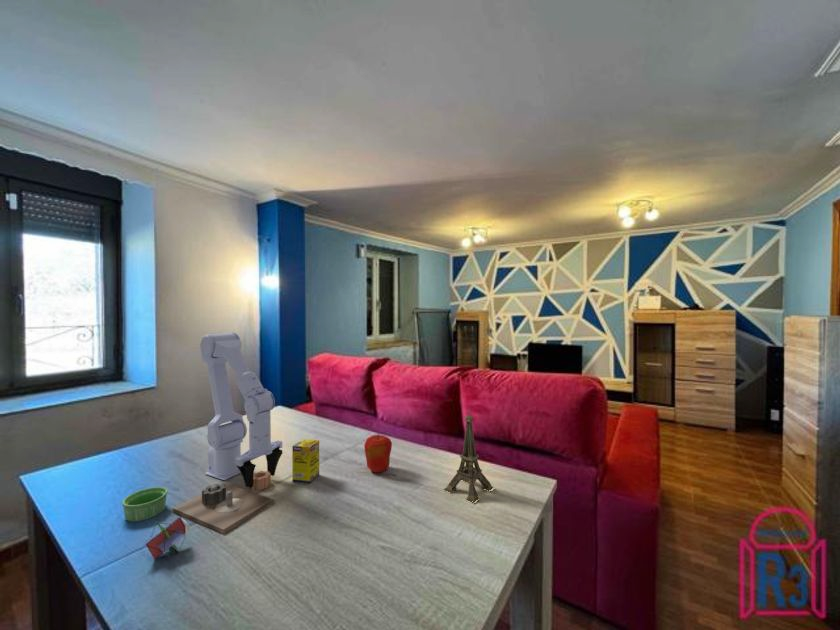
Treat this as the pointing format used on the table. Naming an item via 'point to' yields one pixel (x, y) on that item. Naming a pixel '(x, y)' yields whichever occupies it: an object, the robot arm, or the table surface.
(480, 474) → the eiffel tower
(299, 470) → the supplement box
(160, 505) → the ramekin
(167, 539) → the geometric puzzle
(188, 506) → the gear board
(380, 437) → the apple
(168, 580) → the table surface
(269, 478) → the gear
